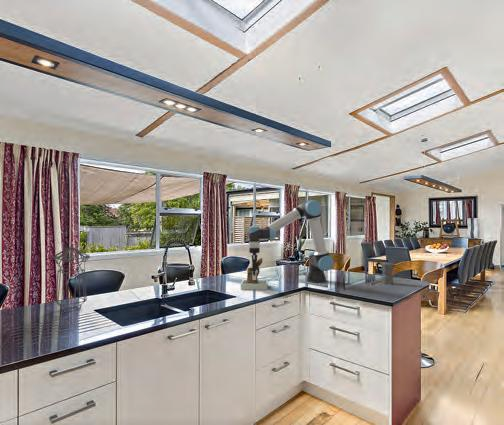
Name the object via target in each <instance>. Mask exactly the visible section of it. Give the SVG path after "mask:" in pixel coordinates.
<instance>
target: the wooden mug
mask: <svg viewBox="0 0 504 425" xmlns="http://www.w3.org/2000/svg"><path fill="white" fill-rule="evenodd" d="M263 261H264V260H263V258H262V257H260V258H259V259H257V264H256V280H252V271H251V270H252V267H248V268H247V271H246V272H247V274H246V276H247V277H246V280H247V281H246V284H258V280H259V278H258V277H259V275H260V266H261V265H262V263H263Z"/></svg>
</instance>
